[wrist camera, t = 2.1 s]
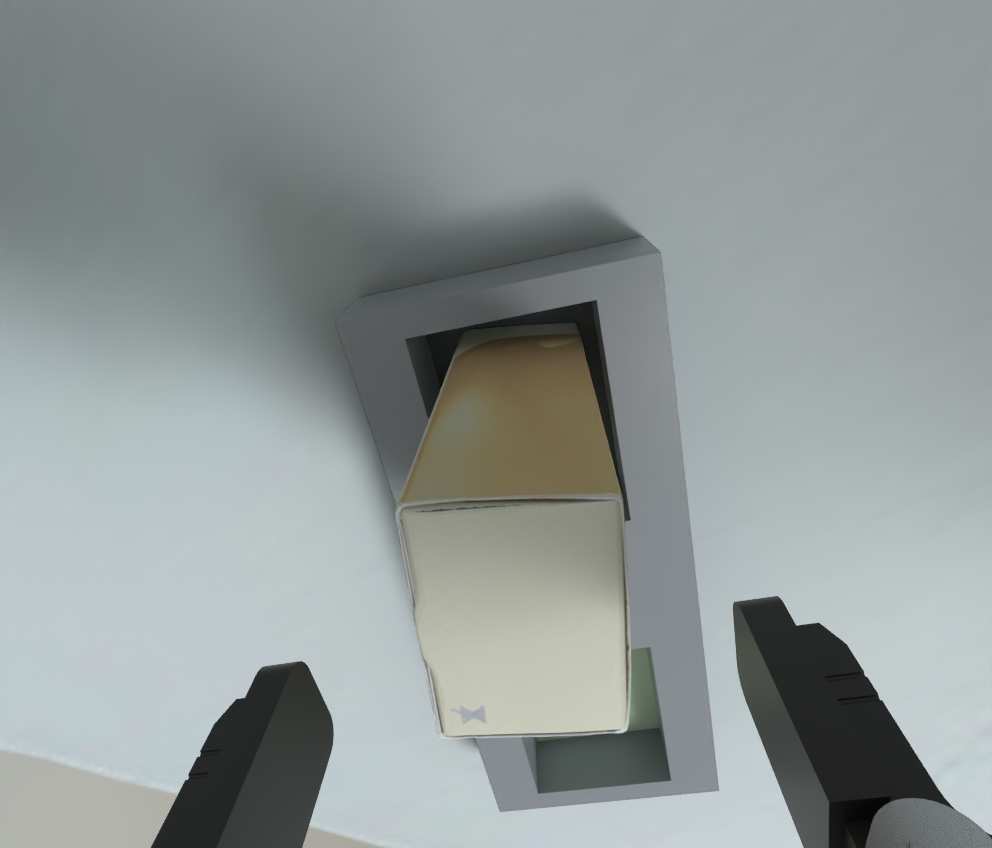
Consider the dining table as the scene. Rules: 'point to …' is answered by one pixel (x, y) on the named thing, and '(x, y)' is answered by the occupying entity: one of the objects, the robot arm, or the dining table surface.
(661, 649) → the panel
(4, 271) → the dining table surface
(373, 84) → the dining table surface
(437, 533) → the skincare box
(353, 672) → the dining table surface
